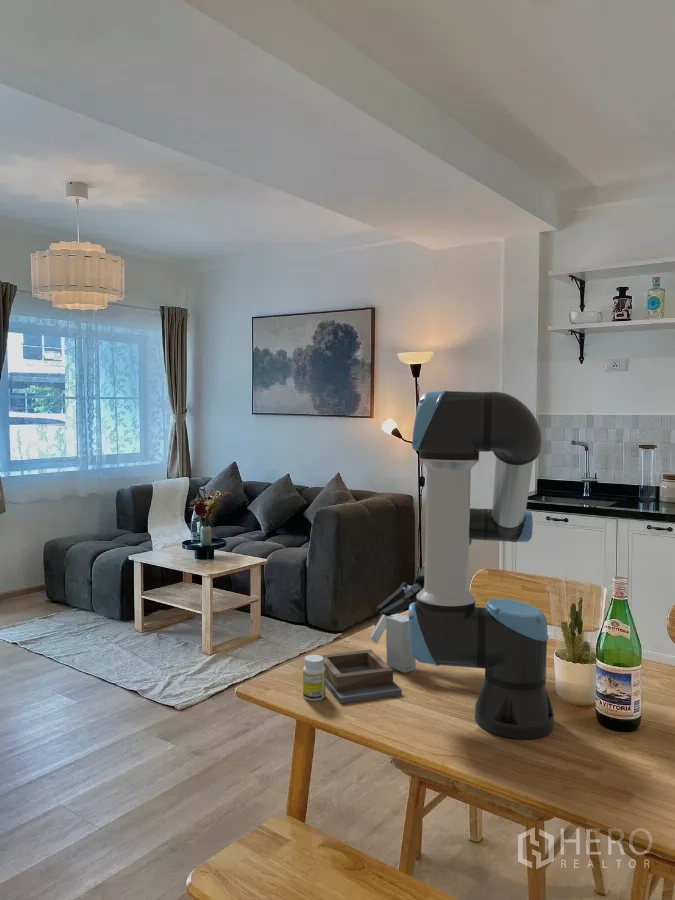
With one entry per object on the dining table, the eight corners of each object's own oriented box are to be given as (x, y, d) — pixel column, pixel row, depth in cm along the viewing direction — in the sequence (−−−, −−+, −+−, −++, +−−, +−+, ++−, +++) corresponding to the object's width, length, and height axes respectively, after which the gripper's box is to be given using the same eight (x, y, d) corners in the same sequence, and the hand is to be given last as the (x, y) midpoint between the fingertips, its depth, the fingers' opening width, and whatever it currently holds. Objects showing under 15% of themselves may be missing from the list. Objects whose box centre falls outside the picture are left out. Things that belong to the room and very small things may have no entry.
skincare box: (416, 669, 163) (417, 618, 163) (402, 674, 161) (403, 622, 160) (398, 661, 168) (399, 612, 167) (384, 666, 165) (385, 615, 164)
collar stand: (401, 694, 149) (402, 675, 149) (339, 703, 145) (340, 683, 144) (367, 661, 168) (367, 644, 168) (311, 668, 163) (311, 650, 163)
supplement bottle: (312, 690, 151) (312, 652, 151) (329, 695, 149) (330, 657, 148) (298, 697, 147) (298, 658, 147) (316, 703, 145) (316, 663, 144)
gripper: (484, 592, 165) (444, 671, 156) (404, 573, 183) (363, 642, 174) (472, 574, 161) (429, 654, 152) (390, 556, 179) (348, 626, 169)
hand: (394, 648), depth 163 cm, fingers open, 13 cm apart
